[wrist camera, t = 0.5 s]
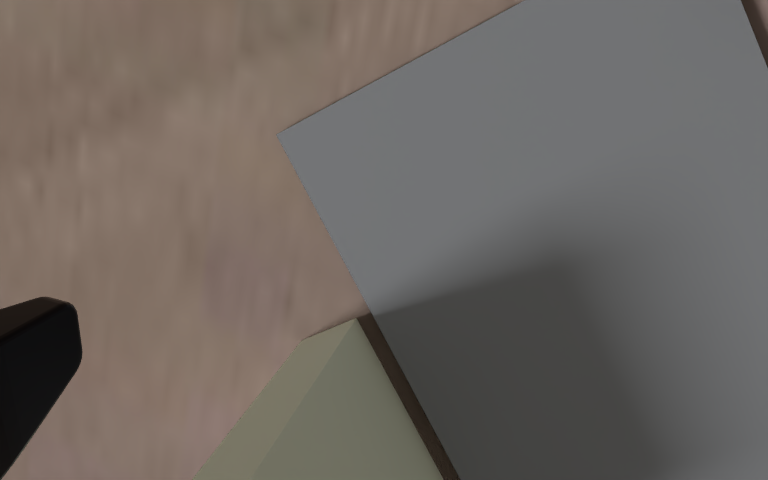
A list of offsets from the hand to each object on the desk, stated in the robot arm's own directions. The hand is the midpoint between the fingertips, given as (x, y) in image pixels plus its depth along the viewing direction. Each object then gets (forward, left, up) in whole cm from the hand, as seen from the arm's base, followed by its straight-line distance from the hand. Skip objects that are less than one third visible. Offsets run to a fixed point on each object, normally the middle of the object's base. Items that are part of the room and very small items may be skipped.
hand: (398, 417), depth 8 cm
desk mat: (+1, -8, -15) cm, 17 cm away
